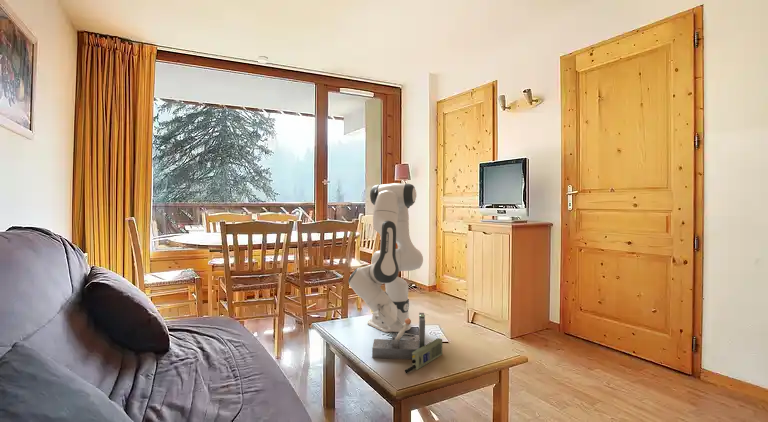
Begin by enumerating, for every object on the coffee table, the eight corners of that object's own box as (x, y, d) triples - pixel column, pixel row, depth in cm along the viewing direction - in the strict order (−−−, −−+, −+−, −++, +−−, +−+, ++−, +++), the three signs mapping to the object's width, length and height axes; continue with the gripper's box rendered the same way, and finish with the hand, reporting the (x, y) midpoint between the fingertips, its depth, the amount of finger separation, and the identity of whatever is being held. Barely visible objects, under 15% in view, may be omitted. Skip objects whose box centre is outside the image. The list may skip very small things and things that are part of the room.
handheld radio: (443, 355, 168) (410, 376, 148) (436, 353, 170) (402, 374, 150) (443, 339, 168) (409, 358, 148) (436, 337, 170) (402, 356, 150)
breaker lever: (392, 342, 167) (406, 318, 166) (392, 340, 169) (406, 316, 168) (398, 345, 166) (412, 321, 166) (398, 343, 169) (412, 319, 168)
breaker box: (372, 357, 164) (372, 317, 163) (374, 348, 174) (374, 310, 173) (424, 359, 162) (425, 318, 162) (423, 349, 172) (424, 311, 172)
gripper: (382, 303, 157) (407, 329, 157) (385, 290, 177) (407, 313, 177) (371, 314, 157) (395, 340, 157) (375, 300, 177) (397, 323, 177)
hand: (401, 326), depth 167 cm, fingers closed, pressing on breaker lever
